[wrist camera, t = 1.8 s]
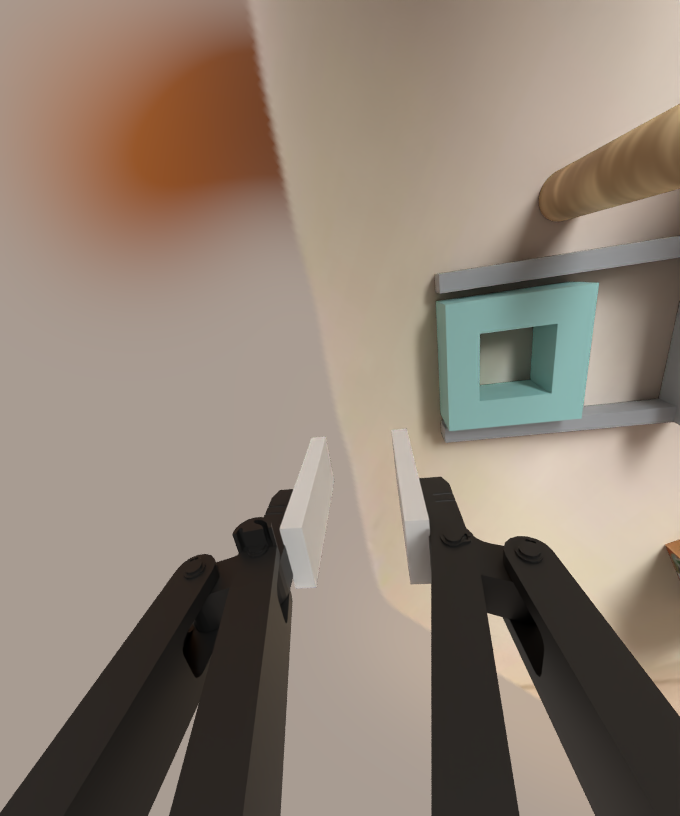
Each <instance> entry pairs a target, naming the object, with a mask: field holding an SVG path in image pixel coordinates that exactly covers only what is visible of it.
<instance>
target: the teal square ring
mask: <svg viewBox="0 0 680 816" xmlns="http://www.w3.org/2000/svg"><path fill="white" fill-rule="evenodd" d="M598 287H599V283H595V282H562V283H555V284H549V285H542V286H535V287H528V288H522V289H515V290H508V291H501V292H495V293H488V294H481V295H474V296H467V297H461V298H454V299H447V300H440V301H436V318H437V342H438V366H439V390H440V413H441V416H442V418H443V420H444V422H445V424H446V425H447V427H448V429H449V431H457V430H467V429H478V428H488V427H499V426H509V425H519V424H530V423H540V422H551V421H561V420H571V419H582V411H583V404H584V396H585V388H586V380H587V373H588V365H589V357H590V349H591V342H592V334H593V326H594V318H595V311H596V303H597V295H598ZM528 327H533V341H532V356H531V372H530V380H521V381H512V382H503V383H494V384H486V385H480V334H483V333H490V332H498V331H505V330H513V329H520V328H528Z"/></svg>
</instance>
